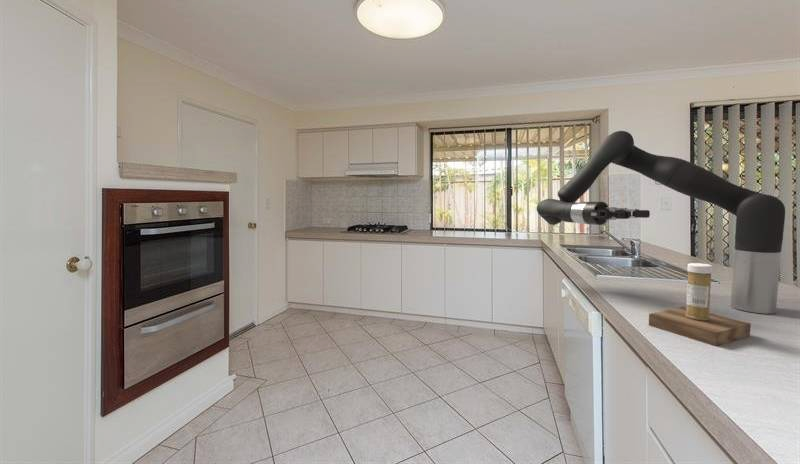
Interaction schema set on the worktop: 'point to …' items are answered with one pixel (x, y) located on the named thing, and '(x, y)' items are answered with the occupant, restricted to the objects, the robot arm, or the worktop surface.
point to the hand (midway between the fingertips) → (639, 214)
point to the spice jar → (698, 291)
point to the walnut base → (700, 326)
